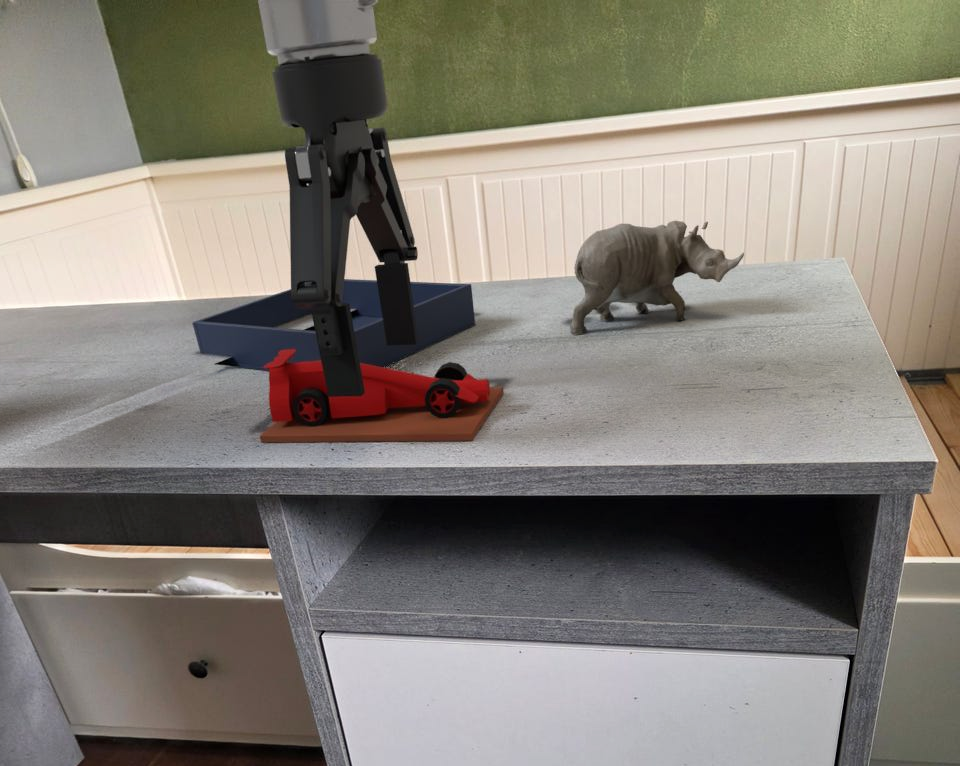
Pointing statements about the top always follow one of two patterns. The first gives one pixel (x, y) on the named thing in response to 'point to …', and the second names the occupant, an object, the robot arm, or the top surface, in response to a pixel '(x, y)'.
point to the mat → (390, 425)
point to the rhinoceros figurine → (642, 268)
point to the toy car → (366, 391)
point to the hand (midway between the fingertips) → (376, 368)
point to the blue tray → (259, 342)
